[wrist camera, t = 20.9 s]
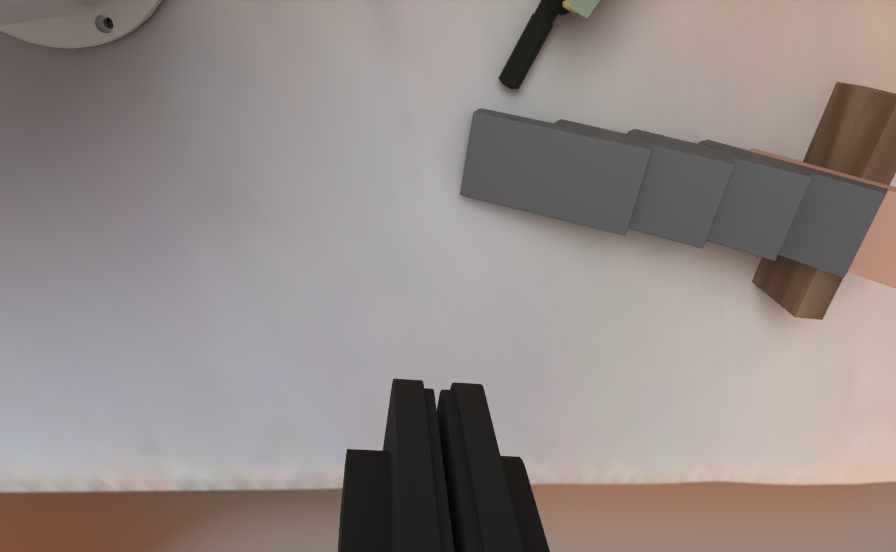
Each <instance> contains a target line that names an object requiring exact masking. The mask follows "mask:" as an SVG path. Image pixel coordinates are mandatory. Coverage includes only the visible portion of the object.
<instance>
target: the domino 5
mask: <svg viewBox="0 0 896 552" xmlns="http://www.w3.org/2000/svg"><path fill="white" fill-rule="evenodd" d="M750 151H751V152H754V153H758V154H762V155H765V156H769V157H773V158H776V159H780V160H784V161H787V162H791V163H795V164H798V165H802V166H806V167H809V168H813V169H817V170H820V171H824V172H828V173H832V174H835V175H839V176H843V177H846V178H850V179H854V180H857V181H861V182H865V183H868V184H872V185H876V186H879V187H883V188H887V189H888V191H887V193H886V195H885V197H884V200H883V202H882V204H881V206H880V208H879V210H878V212H877V214H876V216H875V218H874V220H873V222H872V224H871V226H870V228H869V230H868V232H867V234H866V236H865V238H864V240H863V242H862V244H861V246H860V248H859V250H858V252H857V254H856V256H855V258H854V260H853V262H852V264H851V266H850V268H849V270H848V272H850V273H853V274H856V275H859V276H862V277H865V278H867V279H870V280H873V281H876V282H879V283H882V284H885V285H888V286H890V287H893V288H896V187H893V186H889V185H886V184H882V183H878V182H874V181H871V180H867V179H863V178H860V177H856V176H852V175H848V174H845V173H841V172H837V171H834V170H830V169H826V168H822V167H819V166H815V165H811V164H808V163H804V162H800V161H796V160H793V159H789V158H785V157H782V156H778V155H774V154H771V153H767V152H763V151H759V150H756V149H753V150H750Z"/></svg>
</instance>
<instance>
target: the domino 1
mask: <svg viewBox="0 0 896 552" xmlns="http://www.w3.org/2000/svg"><path fill="white" fill-rule="evenodd" d="M650 152H651V144H647V143H643V142H638V141H633V140H628V139H624V138H619V137H614V136H609V135H605V134H600V133H595V132H590V131H586V130H581V129H576V128H572V127H567V126H562V125H557V124H553V123H548V122H543V121H538V120H534V119H529V118H524V117H519V116H515V115H510V114H505V113H500V112H496V111H491V110H486V109H482V108H481V109H479V110H477V111H475V112H474V113H473V119H472V125H471V131H470V137H469V143H468V149H467V156H466V162H465V168H464V174H463V180H462V186H461V192H460V195H462V196H466V197H470V198H474V199H478V200H483V201H487V202H491V203H495V204H499V205H503V206H507V207H511V208H515V209H519V210H523V211H527V212H531V213H535V214H539V215H544V216H548V217H552V218H556V219H560V220H564V221H568V222H572V223H576V224H580V225H584V226H588V227H592V228H596V229H600V230H605V231H609V232H613V233H617V234H621V235H626V232H627V228H628V225H629V222H630V218H631V215H632V212H633V208H634V205H635V202H636V198H637V195H638V192H639V188H640V185H641V182H642V179H643V175H644V172H645V169H646V165H647V162H648V159H649V155H650Z"/></svg>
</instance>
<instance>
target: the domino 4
mask: <svg viewBox="0 0 896 552" xmlns="http://www.w3.org/2000/svg"><path fill="white" fill-rule="evenodd" d="M699 145H703V146H707V147H711V148H715V149H719V150H723V151H727V152H732V153H736V154H740V155H744V156H748V157H752V158H756V159H760V160H764V161H769V162H773V163H777V164H781V165H785V166H789V167H793V168H797V169H801V170H806V171H810V172H811V179H810V182H809V184H808V186H807V189H806V191H805V193H804V195H803V198H802V200H801V202H800V205H799V207H798V209H797V212H796V214H795V216H794V218H793V221H792V223H791V225H790V228H789V230H788V232H787V235H786V237H785V239H784V241H783V244H782V246H781V248H780V251H779V253H778V255H781V256H784V257H787V258H790V259H792V260H795V261H798V262H801V263H804V264H806V265H809V266H812V267H815V268H818V269H821V270H823V271H826V272H829V273H832V274H835V275H838V276H840V277H843V278H844V276H845V275H846V273H847V272H848V270H849V268H850V266H851V264H852V262H853V260H854V258H855V256H856V254H857V252H858V250H859V248H860V246H861V244H862V242H863V240H864V238H865V236H866V234H867V232H868V230H869V228H870V226H871V224H872V222H873V220H874V218H875V216H876V214H877V212H878V210H879V208H880V206H881V204H882V202H883V200H884V197H885V195H886V193H887V191H888V189H887V188H883V187H879V186H876V185H872V184H868V183H865V182H861V181H857V180H854V179H850V178H846V177H843V176H839V175H835V174H832V173H828V172H824V171H820V170H817V169H813V168H809V167H806V166H802V165H798V164H795V163H791V162H787V161H784V160H780V159H776V158H773V157H769V156H765V155H762V154H758V153H754V152H751V151H747V150H743V149H740V148H736V147H732V146H729V145H725V144H721V143H718V142H714V141H710V140H706V141H702V142H700V143H699Z"/></svg>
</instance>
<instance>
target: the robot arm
mask: <svg viewBox="0 0 896 552" xmlns="http://www.w3.org/2000/svg"><path fill="white" fill-rule="evenodd" d="M161 1H162V0H0V32H3V33H5V34H8V35H10V36H12V37H15V38H17V39H20V40H22V41H25V42H29V43H33V44H38V45H42V46H47V47H52V48H73V49H76V48H83V47H89V46H96V45H101V44H104V43H107V42H111V41H114V40H116V39H118V38H120V37H122V36H124V35H126V34H128V33H130V32H132V31H134V30H135V29H136V28H138V27H139V26H140V25H141V24H142V23H143V22H145V21H146V20H147V19H148V18H149V17H150V16H151V15H152V14H153V13H154V11H155V10H156V8H157V7H158V6H159V4H160V3H161ZM107 18H110V19H111V20H112V22H113V25H114V26H113V28H111V27H109V26H108V25H107V22H106V21H107ZM338 552H550V551H549V547H548V544H547V541H546V537H545V534H544V530H543V527H542V524H541V520H540V517H539V513H538V510H537V506H536V503H535V500H534V496H533V493H532V489H531V486H530V482H529V479H528V475H527V472H526V469H525V466H524V463H523V461H522V459H521V458H520V457H510V456H500V453H499V449H498V445H497V440H496V436H495V432H494V428H493V424H492V420H491V416H490V412H489V408H488V404H487V400H486V396H485V392H484V388H483V386H482V385H481V384H468V383H452V385H451V388H450V390H441V392H440V396H439V401H438V407H437V411H436V403H435V396H434V390H433V389H424V385H423V381H421V380H405V379H393V383H392V389H391V396H390V403H389V410H388V418H387V425H386V432H385V439H384V446H383V451H375V450H353V449H347V453H346V462H345V472H344V481H343V492H342V503H341V515H340V528H339V542H338Z"/></svg>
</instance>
